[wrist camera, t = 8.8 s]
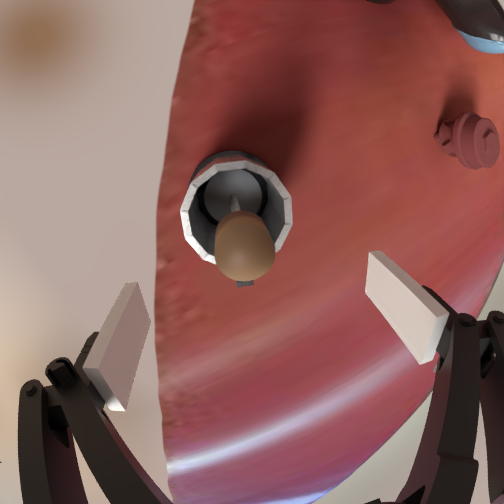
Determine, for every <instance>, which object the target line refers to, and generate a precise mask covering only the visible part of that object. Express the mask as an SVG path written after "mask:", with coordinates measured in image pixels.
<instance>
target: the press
mask: <svg viewBox="0 0 504 504" xmlns="http://www.w3.org/2000/svg"><path fill="white" fill-rule="evenodd" d="M234 169H241V170H244V171H246V172H248V173H250V174H251V175H252V176H253V177H254V178H255V179H256V180H257V182H258V183H259V186H260V188H261V192H262V201H261V205H260V208H259V210H258V211H257V213H256V215H257V216H259V217H260V218H261V219H262V221H263V222H264V224H265V226H266V228H267V230H268V232H269V234H270V236H271V238H272V240H273V242H274V245H275V253H276V252H277V251H279V250H280V249H281V247H282V245H283V243H284V241H285V239H286V237H287V235H288V233H289V231H290V229H291V227H292V225H293V222H292V204H291V196H290V194H289V193H288V191H287V190H286V188H285V187H284V186H283V184H282V183H281V181H280V180H279V178H278V177H277V176H276V174H275V173H274V172H273V171H271V170H270V169H269V167H268V166H267V165H266V164H265V163H264V162H263V161H262V160H260V159H259V158H257V157H256V156H254V155H252V154H249V153H247V152H243V151H236V150H230V151H223V152H219V153H216V154H214V155H212V156H210V157H209V158H207V159H206V160H204V161H203V162H202V163H201V164H200V165H199V166H198V168H197V169H196V170H195V172H194V173H193V175H192V177H191V179H190V183H189V186H188V191H187V194H186V196H185V199H184V202H183V204H182V207H181V209H180V213H181V219H182V224H183V230H184V235H185V239H186V240H187V241H188V242H189V244H190V245H191V246H192V247H193V248H194V249H195V251H196V252H197V253H198V254H199V255H200V256H201V257H202V259H203V260H206V261H209V262H211V263H214V264H216V261H215V256H214V252H215V232H216V228H217V226H218V224H219V221H217V220H216V219H215V218H213V217H212V216H211V215H210V213H209V212H208V210H207V208H206V205H205V200H204V195H205V190H206V187H207V184H208V182H209V181H210V179H211V178H212V177H213V176H214V175H215V174H217V173H218V172H220V171H226V170H234ZM236 282H237V287H242V286H250V285H254V284H253V280H251V281H237V280H236Z"/></svg>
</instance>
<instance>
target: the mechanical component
mask: <svg viewBox="0 0 504 504" xmlns="http://www.w3.org/2000/svg"><path fill="white" fill-rule="evenodd" d="M434 138H435V140H436V141H437V142H440V145H441V147H442V149H443V151H444V152H445V153H446V154H448V155H450V156H454V157H457V158H458V160H459V161H460V163H461V164H462V165H463V166H465V167H467V168H470V169H474V170H476V169H479V168H481V167H484V168H491V167H492V166H494V164H495V163H496V161H497V159H498V156H499V149H500V143H499V136H498V132H497V130H496V127H495V126H494V124H493V123H492V121H490V120H489V119H487V118H481V117H480V116H479V115H477V114H476V113H473V112H463V113H461V114H460V115H459V116H458V117H457V118H456V120H454V119H447V120H445V121H443V123H442V124H441V126H440V129H439V132H438V133H436V134H435V136H434Z"/></svg>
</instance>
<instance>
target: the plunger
mask: <svg viewBox="0 0 504 504" xmlns="http://www.w3.org/2000/svg"><path fill="white" fill-rule="evenodd" d="M204 200H205V205H206V208H207V210H208V212H209V213H210V215H211V216H212V217H213V218H215V219H216V220H217V221H219V224H218V226H217V228H216V232H215V252H214V256H215V261H216V264H217V266H218V268H219V269H220V271H221V272H222V273H223V274H224V275H226V276H227V277H229V278H231V279H233V280H237V281H251V280H254V279H257V278H259V277H261V276H263V275H264V274H265V273H266V272H267V271H268V270H269V269H270V268H271V266H272V264H273V262H274V259H275V245H274V242H273V240H272V238H271V236H270V234H269V232H268V230H267V228H266V226H265V224H264V222H263V221H262V219H261V218H260V217H259V216H257V215H256V213H257V211H258V210H259V208H260V205H261V201H262V192H261V188H260V186H259V183H258V182H257V180H256V179H255V178H254V177H253V176H252V175H251V174H250V173H248V172H246V171H244V170H241V169H234V170H226V171H220V172H218V173H217V174H215V175H214V176H213V177H212V178H211V179H210V181H209V182H208V184H207V187H206V190H205V195H204Z"/></svg>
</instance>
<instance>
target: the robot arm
mask: <svg viewBox="0 0 504 504" xmlns="http://www.w3.org/2000/svg"><path fill="white" fill-rule="evenodd" d="M367 1H370V2H373V3H379V4H388V3H391V2H394V1H395V0H367ZM435 2H436V3H437V4H438V5H439V7H440V8H441V9H442V10H443V12H444V13H445V14H446V15H447V17H448V18H449V19H450V21H451V22H452V25H453V27H454V28H455V29H456V30H457V31H458V32H459V33H460V34H461V36H462V37H463V39H464V40H465V41H466V43H467V44H468V45H469V46H471V47H472V48H473V49H475V50H478V51H480V52H485V53H504V0H435ZM365 293H366V294H367V296H368V297H369V298H370V299H371V301H372V302H373V303H374V304H375V306H376V307H377V308H378V309H379V311H380V312H381V313H382V315H383V316H384V317H385V318H386V320H387V321H388V322H389V324H390V325H391V326H392V328H393V329H394V330H395V331H396V333H397V334H398V335H399V337H400V338H401V339H402V341H403V342H404V344H405V345H406V346H407V348H408V349H409V350H410V352H411V353H412V354H413V356H414V357H415V359H416V360H417V361H418V363H419V364H420V365H421V364H424V363H426V362H429V361H431V360H432V359H433V357H434V355H435V352H436V351H437V352H438V353H439V355H440V357H439V359H438V361H437V364H436V366H435V368H434V370H433V372H435V371H436V376H435V382H434V388H433V393H432V399H431V404H430V407H429V412H428V416H427V420H426V424H425V428H424V432H423V435H422V439H421V442H420V446H419V449H418V452H417V455H416V458H415V461H414V464H413V467H412V470H411V472H410V475H409V478H408V481H407V483H406V485H405V486H404V488H403V489H402V491H401V492H400V494H399V496H398V497H397V499H396V501H395V502H381V501H380V498H379V499H376V500H373V501H371V502H368V503H365V504H470V502H471V498H472V494H473V491H474V487H475V482H476V477H477V473H478V466H479V464H478V461H477V460H475V459H474V458H473V454H474V448H475V442H476V434H477V426H478V416H479V402H480V403H481V408H482V415H483V421H484V429H485V436H486V447H487V461H488V487H489V497H490V503H491V504H504V313H502V312H500V311H491V312H489V315H488V317H487V319H486V320H482V321H477V320H476V319H475V318H474V317H473V316H471V315H469V314H466V313H460V314H458V313H457V312H456V311H455V310H454V309H452V308H451V307H450V306H449V305H448V304H447V303H446V302H445V301H444V300H442V298H441V297H440V296H438V294H436V293H435V292H434V291H433V290H432V289H430V288H428V287H426V286H424V285H423V286H420V285H419V284H418V283H417V282H416V281H415V280H414V279H413V278H412V277H410V276H409V275H408V274H407V273H406V272H405V271H404V270H403V269H401V268H400V267H399V266H398V265H397V264H396V263H395V262H393V261H392V260H391V259H390V258H389V257H388V256H386V255H385V254H384V253H383V252H382V251H380V250H378V251H372V252H369V259H368V270H367V280H366V288H365ZM150 323H151V321H150V318H149V315H148V312H147V309H146V306H145V303H144V300H143V297H142V294H141V291H140V288H139V285H138V282H135V283H126V284H125V286H124V287H123V289H122V291H121V293H120V295H119V296H118V298H117V300H116V302H115V304H114V305H113V307H112V309H111V311H110V313H109V315H108V317H107V318H106V320H105V322H104V324H103V326H102V328H101V330H100V332H94V333H93V334H92V335H91V336H90V337H89V338H88V339H87V341H86V342H85V344H84V347H83V348H82V350H81V353H80V354H79V356H78V358H77V360H76V362H75V364H74V366H73V364H72V363H71V361H70V360H69V359H68V358H65V357H60V358H57V359H55V360H53V361H52V362H50V364H49V365H48V366H47V368H46V370H45V374H46V376H47V377H48V379H49V380H50V382H51V383H52V385H51V386H46V387H43V385H42V384H41V383H40V381H38V380H35V379H34V380H30V381H28V382H26V383H25V384H24V385H23V386H22V388H21V390H20V397H19V412H18V458H19V459H18V460H19V473H20V483H21V492H22V498H23V504H88V501H87V498H86V494H85V491H84V487H83V483H82V479H81V475H80V471H79V466H78V462H77V457H76V452H75V447H74V441H73V436H74V438H75V440H76V442H77V444H78V446H79V448H80V451H81V452H82V454H83V457H84V459H85V461H86V462H87V464H88V466H89V468H90V470H91V472H92V473H93V475H94V477H95V479H96V481H97V482H98V484H99V486H100V487H101V489H102V491H103V492H104V494H105V496H106V497H107V498H108V500H109V502H110V503H111V504H173V503H172V502H171V501H170V500H169V499H168V498H167V497H166V496H165V494H164V493H163V492H162V491H161V490H160V488H159V487H158V486H157V485H156V484H155V483H154V482H153V480H152V479H151V478H150V477H149V475H148V474H147V473H146V471H145V470H144V469H143V468H142V466H141V465H140V463H139V462H138V461H137V459H136V458H135V457H134V456H133V454H132V453H131V451H130V450H129V448H128V447H127V445H126V444H125V442H124V441H123V440H122V438H121V436H120V435H119V433H118V432H117V430H116V429H115V427H114V426H113V424H112V422H111V421H110V419H109V417H108V416H107V414H106V413H105V411H104V410H103V408H104V405H105V403H106V404H107V406H108V407H109V408H110V410H114V411H126V408H127V404H128V399H129V396H130V392H131V388H132V384H133V381H134V377H135V373H136V370H137V366H138V363H139V359H140V356H141V352H142V349H143V346H144V343H145V339H146V336H147V333H148V330H149V326H150ZM494 354H495V356H494ZM436 369H437V370H436ZM72 433H73V434H72Z"/></svg>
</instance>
